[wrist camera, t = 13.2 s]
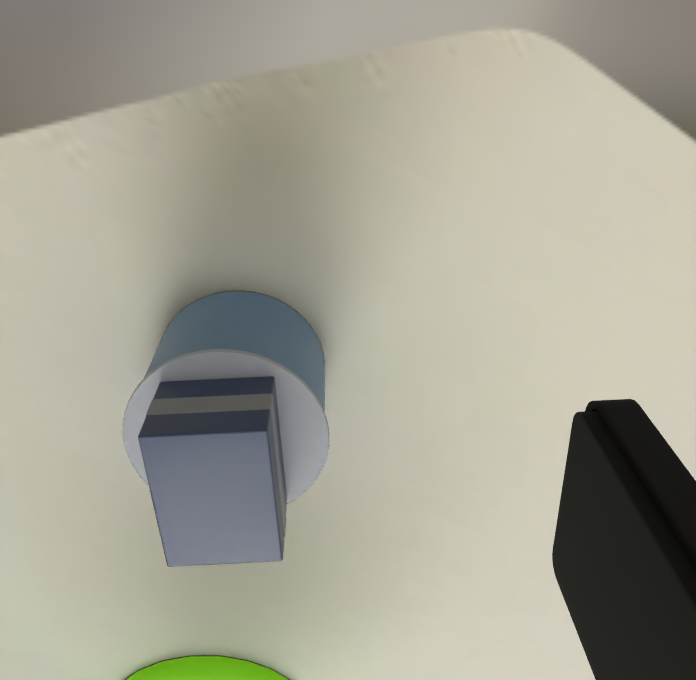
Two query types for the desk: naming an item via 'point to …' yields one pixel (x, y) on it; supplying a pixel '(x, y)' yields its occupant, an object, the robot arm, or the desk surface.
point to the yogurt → (245, 372)
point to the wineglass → (206, 670)
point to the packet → (216, 470)
